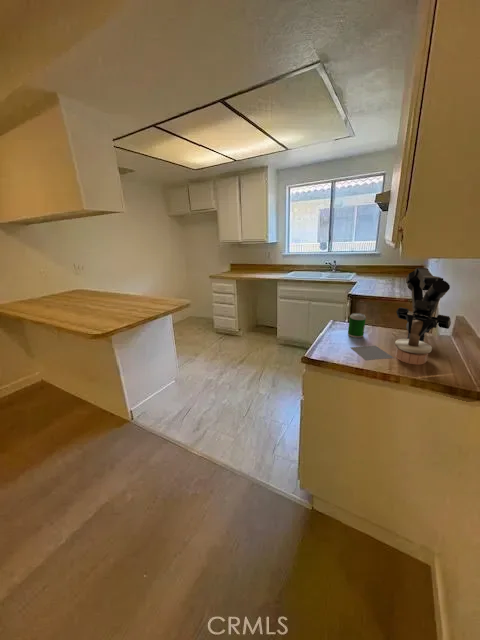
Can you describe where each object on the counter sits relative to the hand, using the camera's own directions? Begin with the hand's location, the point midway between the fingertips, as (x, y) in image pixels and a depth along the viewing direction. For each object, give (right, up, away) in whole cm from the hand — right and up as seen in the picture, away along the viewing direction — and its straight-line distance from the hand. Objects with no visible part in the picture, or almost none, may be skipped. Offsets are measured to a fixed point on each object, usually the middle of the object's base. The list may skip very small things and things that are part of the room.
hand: (414, 334), depth 109 cm
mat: (-13, -9, +11) cm, 19 cm away
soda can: (-11, -3, +30) cm, 32 cm away
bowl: (+1, -11, +5) cm, 12 cm away
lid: (+1, -5, +3) cm, 6 cm away
